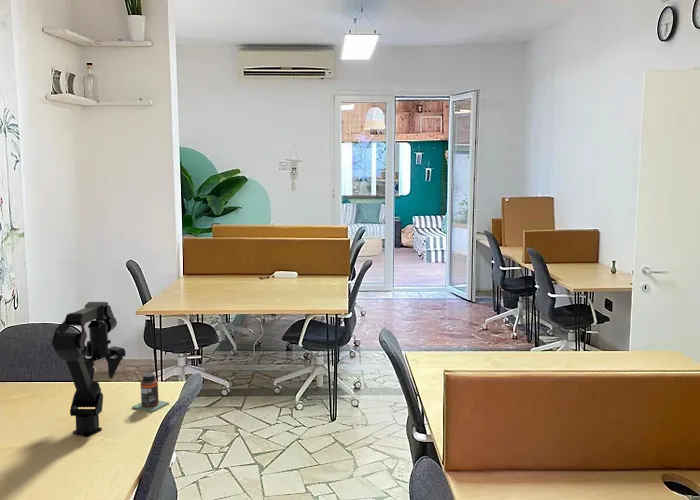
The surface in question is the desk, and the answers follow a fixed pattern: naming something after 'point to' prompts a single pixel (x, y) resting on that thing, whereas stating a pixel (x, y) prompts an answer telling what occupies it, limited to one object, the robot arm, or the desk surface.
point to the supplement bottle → (149, 390)
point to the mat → (150, 409)
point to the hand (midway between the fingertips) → (100, 382)
